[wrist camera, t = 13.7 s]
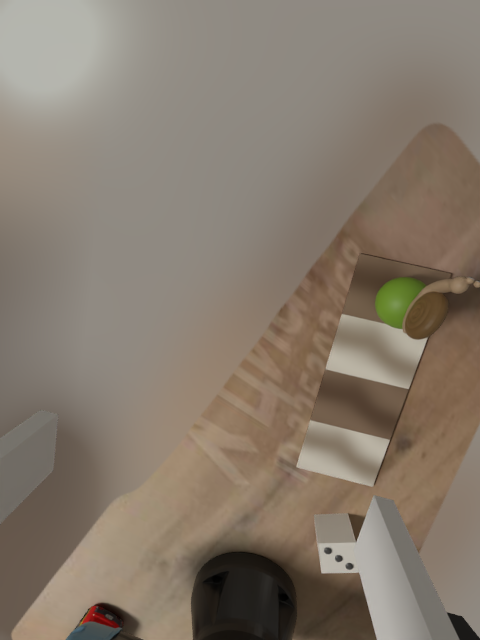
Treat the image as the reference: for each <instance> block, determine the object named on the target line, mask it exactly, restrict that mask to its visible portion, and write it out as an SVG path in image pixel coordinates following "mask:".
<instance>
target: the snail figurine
mask: <svg viewBox="0 0 480 640" xmlns="http://www.w3.org/2000/svg"><path fill="white" fill-rule="evenodd" d="M472 283H474V286H475V287H477V288H479V287H480V281H475V282H474V279H473V278H472V277H468V278H466V277H455V278H454V279H444V280H439V281H436V282H433V283H431V284H429V285H428V286H426V285H425V284H424V283H423V282H421V281H419V280H417V279H415V278H411V277H399V278H395V279H392V280H390V281H388V282H387V283H385V284H384V285H383V286H382V287H381V288H380V290H379V291H378V293H377V295H376V299H375V308H376V312H377V314H378V316H379V318H380V319H381V320H382V321H383V322H384V323H385V324H387V325H389V326H391V327H393V328H397V329H403V333H406V334H407V335H408V336H409V337H410V338H412V339H416V340H420V339H424V338H427V337H429V336H430V335H432V334H433V333H434V332H435V331H436V330H437V329H438V328H439V327H440V326H441V324H442V323H443V321H444V320H445V318H446V315H447V312H448V307H449V303H448V300H447V298H446V297H445V295H443V293H448V292H453V293H455V294H460V293H463V292H465V291H466V290H467V289H468V288H469V284H472Z"/></svg>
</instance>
